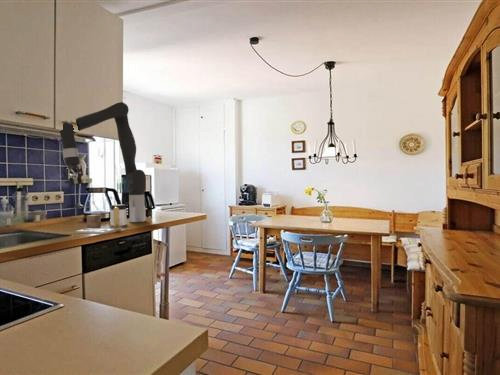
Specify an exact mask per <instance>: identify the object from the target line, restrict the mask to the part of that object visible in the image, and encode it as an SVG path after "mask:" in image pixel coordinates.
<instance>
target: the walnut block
mask: <svg viewBox="0 0 500 375" xmlns="http://www.w3.org/2000/svg"><path fill="white" fill-rule="evenodd" d="M101 219H102V218H101V214H90V215H86V229H87V228H93V229H99V228H101V227H102V226H101V225H102V224H101V221H102V220H101Z"/></svg>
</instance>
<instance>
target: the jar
mask: <svg viewBox="0 0 500 375" xmlns="http://www.w3.org/2000/svg"><path fill="white" fill-rule="evenodd" d="M115 207H118V208H119V222H120V227H121V226H125V225H127V224H128V221H127V207H126V204H122V203H121V204H111V205H110V211H109V213H110V226H111V227H114V208H115Z"/></svg>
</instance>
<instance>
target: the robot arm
mask: <svg viewBox="0 0 500 375" xmlns="http://www.w3.org/2000/svg"><path fill="white" fill-rule="evenodd" d="M129 111H130V110H129V106H128V105H127V104H126V103H125V102H123V101H117V102H114V103H113V104H112V105H110V106H108V107H106V108H103V109H101V110H98V111H95V112H91V113H88V114H85V115H82V116H79V117H77V118H75V120H76V123H77V126H78V130H79V132H80V131H83V130H86V129H89V128H91V127H94V126H96V125H98V124H102V123H103V122H106V121H108V120H111V119H114V121H115V124H116V129H117V137H118V143H119V146H120V147H119V148H120V150H121V151H120V152H121V155H122V160H123V163H124V171H125V177H126V180H127V182H128V183H129V184H131V188H130V189H129V190H128V203H129V204H128V205H129V208H128V209H129V223H141V222H142V223H143V222H146V220H147V216H146V215H147V214H146V211H147V210H146V205H145V192H146V184H147V183H146V182H147V181H146V180H147V178H146V174H145V171H144V170H143V169H137V165H136V155H137V143H136V141H135V137H134V134H133V131H132V129H131V126H130V123H129V117H128V116H129V115H128V114H129ZM69 122H70V121H67V122H66V123H64V124H63V130H61V131H59V135H60V137H61V138H60V139H61V145H62V149H63V150H62V151H63V153H62V154H63V160H64V165H65V166H66V167H68V168H65V170H64V171H65V179H68V181H69V186H75V180H74V178H75V177H76V180H77V185H82V184H83V180H82V176H84V172H83V166H82V165H80V164H81V161H80V155H79V151H78V146H77V141H76V139H75V134H76V133H78V132H74V131H73V130H74V128H73V125H72V124H71V123H69Z"/></svg>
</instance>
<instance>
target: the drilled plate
mask: <svg viewBox="0 0 500 375" xmlns="http://www.w3.org/2000/svg"><path fill="white" fill-rule="evenodd" d="M113 232H115V230H114V229H112V228H87V227H86V228H84V229H83V228H82V229H78V230H75V233H76V234H77V233H78V234H96V235H97V234H100V235H101V234H102V235H104V234H108V233H113Z"/></svg>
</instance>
